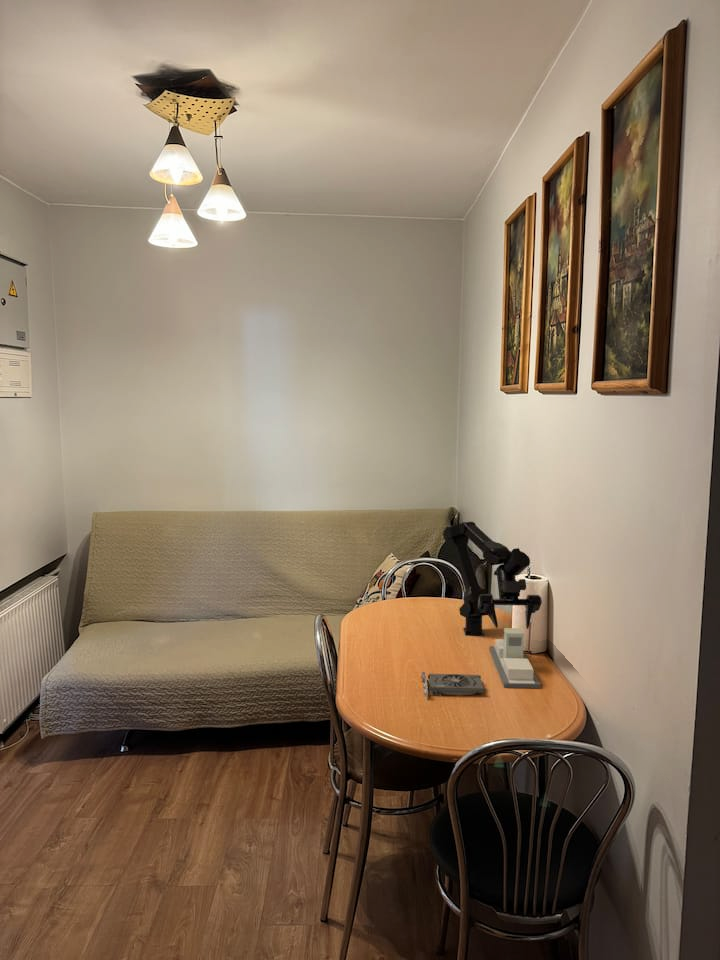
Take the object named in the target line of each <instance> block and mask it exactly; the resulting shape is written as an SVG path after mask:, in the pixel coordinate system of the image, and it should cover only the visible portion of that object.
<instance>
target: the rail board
mask: <svg viewBox="0 0 720 960" xmlns="http://www.w3.org/2000/svg"><path fill="white" fill-rule="evenodd" d="M503 645H504V638H499V639H498V638H495V639H494V645H491V646H490V645H489V646H488V650H489V652H490V655H491V658H492V660H493V663H494V666H495V668H496V671H497V673H498V676H499V679H500V680H501V683H502V685H503V686H502V687H503V688H504V689H505V688H510V689H512V688H513V689H541V682H540V680H539V679H538V677H537V675H536V673H535V670H534V668H533V666H532V664H531V662H530V661H529V659H528V658H527V656H526V654H525V653H524V651H523V658H503Z"/></svg>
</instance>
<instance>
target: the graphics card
mask: <svg viewBox="0 0 720 960" xmlns="http://www.w3.org/2000/svg"><path fill="white" fill-rule="evenodd" d="M481 677H482V676H481V675H480V674H465V673H464V674H460V673H459V674H458V673H457V674H455V673H454V674H453V673H429V674H428V675H427V673H426V671H425V670H423V671H421V675H420V678H421V681H422V682H424V683H423V686H424V687H423V695H424V696H426V700H428V697H430V694H431V695H434V694H438V696H441V695H442V696H443V695H456V696H457V695H458V696H459V695H464V696H465V695H467V696H468V695H470V696H471V695H472V696H474V694H476V693H485V687H484V681H482V678H481ZM427 678H428V679H427ZM427 684H428V685H429V686H427ZM428 701H429V700H428Z"/></svg>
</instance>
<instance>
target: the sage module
mask: <svg viewBox="0 0 720 960" xmlns="http://www.w3.org/2000/svg"><path fill="white" fill-rule="evenodd" d="M524 634H525V633H524V632H523V630H522V628H518V627H517V628H514V627H513V628H512V627H504V628H503V639H504V645H503V658H523V652H524V637H525V635H524Z"/></svg>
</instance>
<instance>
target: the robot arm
mask: <svg viewBox="0 0 720 960" xmlns="http://www.w3.org/2000/svg"><path fill="white" fill-rule="evenodd" d="M442 537H443V539H444V540H445V543H446V545H447V547H448V548H449V549H450V550H451V551H452V552H453V553H454V558H455V561H456V564H457V566H458V571H459V574H460V577H461V580H462V583H463V586H464V594H463V598H462V599H463V604H462V605H461V606H460V607H459V608H458V610H459V615H460V616H462V617H464V618H465V627H463V632H464V635H465V636H484V635H485V632H484V629H483V616H488V617H489V618H490V620H491V622H492V624H493V625H494V628H496V629H498V627H499V626H498V625H499V624H498V623H499V622H498V619H497V614H496V609H495V608H496V607H495V606H525V610H524V613H525V614H524V615H525V627H526V629H527V630H528V629H529V627H530V625H531V624H530V623H531V619H532V614H534V613H536V612H537V611H539V610H540V609H541V605H542V603H543V600H542V597H541V596H540V595H539V594H527V596H526V598H520V596H521V594H520V593H521V591H526V590H527V581H526V579H525V578H519V579H518V580H517V578H516V576H519V575H520V574H521V573H522V572H523V571H524V570H526V568H528V567H529V565H530V564H531V559H530V556H529V555H527V554H526V553H525V552H523V551H521V550H520V548H519V547H518V548H513V549H512V550H511V551H510V549H509V548H508V546H506V545H504V544H502V543H501V542H496V541H494V540H492V539H491V537H489V536H488V535H487V534H486V533H484V532H483V531H482V530H481V529H480V528H479V527H478V526H477V524H476V523H475V522H474V521H463V522H461V523H459V524H456V525H451V526H446V527H445V528H444V530H443V533H442ZM469 540H470V541H471V543H473V544H474V545H475V546H476V547H477V548H478V549H479V550H480V551H481V552H482V557H483V559H484V560H485V562H486V563H487V564H488V565H489V566H496V568H495V569H496V570H494V573H493V576H496V580H497V588H498V589H497V590H498V597H499V598H493V597H494V596H493V594H492V593H491V594H489V593H488V590H487V589H486V588H482V587H481V586H480V584H479V581H478V578H477V575H476V572H475V569H474V565H473V562H472V560H471V556H470V553H469V549H468V544H469ZM497 566H498V567H497ZM515 578H516V579H515Z"/></svg>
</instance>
